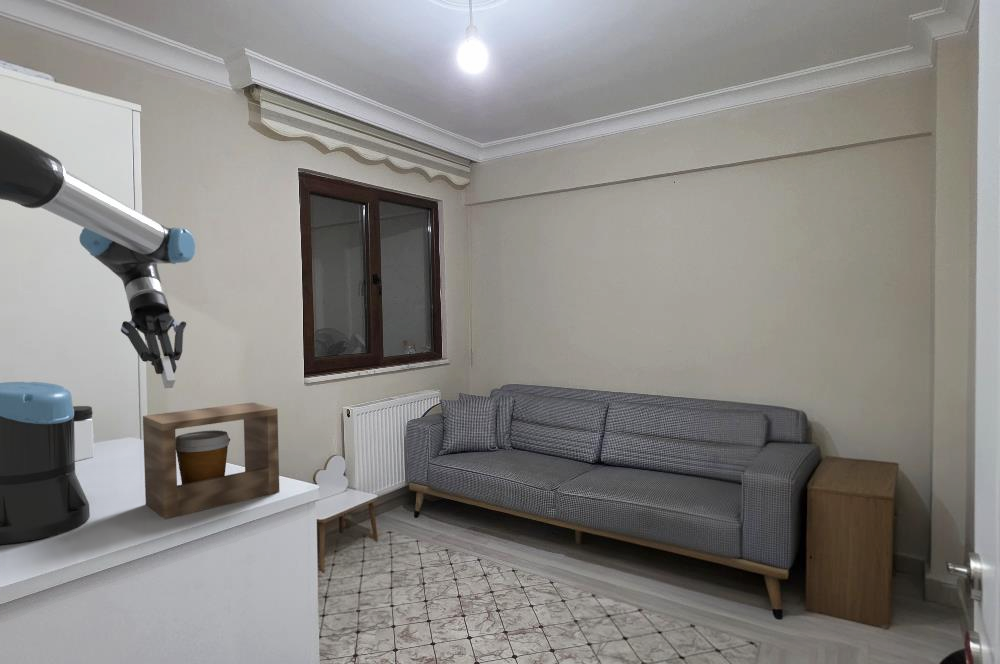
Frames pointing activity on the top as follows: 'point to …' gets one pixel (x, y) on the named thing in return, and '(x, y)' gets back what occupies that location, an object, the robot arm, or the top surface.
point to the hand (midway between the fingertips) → (170, 384)
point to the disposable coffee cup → (202, 455)
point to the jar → (83, 432)
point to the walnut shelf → (215, 491)
